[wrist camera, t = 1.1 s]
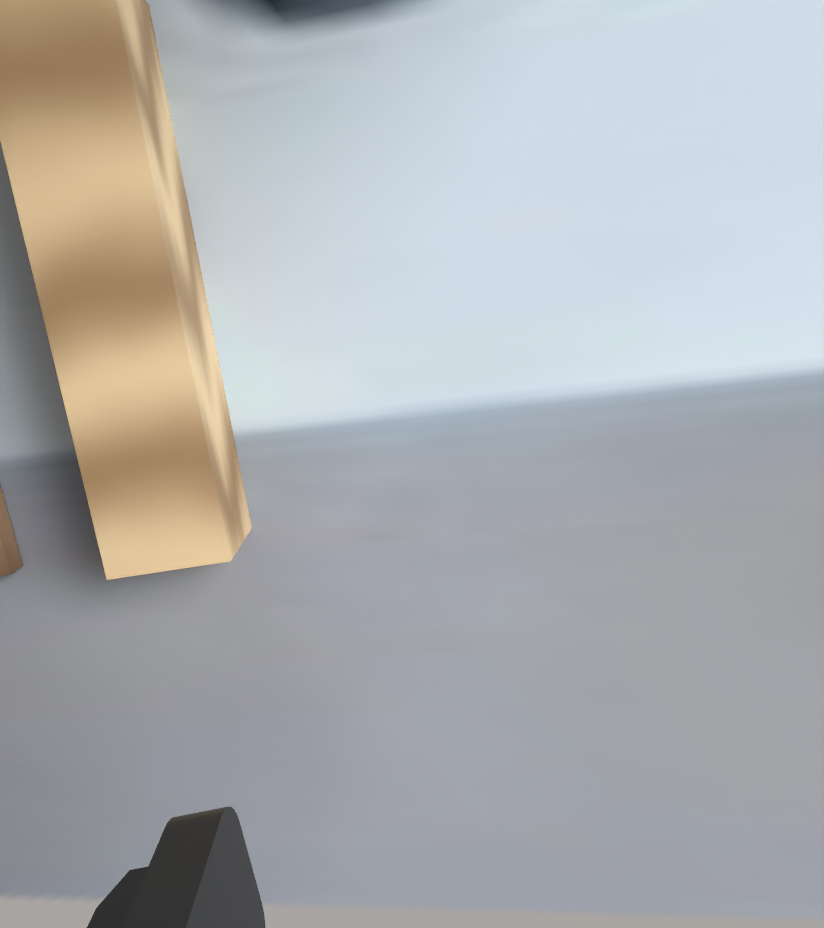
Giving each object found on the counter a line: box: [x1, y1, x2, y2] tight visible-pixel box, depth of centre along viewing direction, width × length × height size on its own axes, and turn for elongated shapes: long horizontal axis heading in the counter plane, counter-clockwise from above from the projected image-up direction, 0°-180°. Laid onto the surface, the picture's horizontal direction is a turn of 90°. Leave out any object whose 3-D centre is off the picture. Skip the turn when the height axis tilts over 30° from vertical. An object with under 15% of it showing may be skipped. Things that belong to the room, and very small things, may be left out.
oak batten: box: [0, 0, 252, 580], centre depth 26 cm, size 20×4×4 cm, turn 8°
